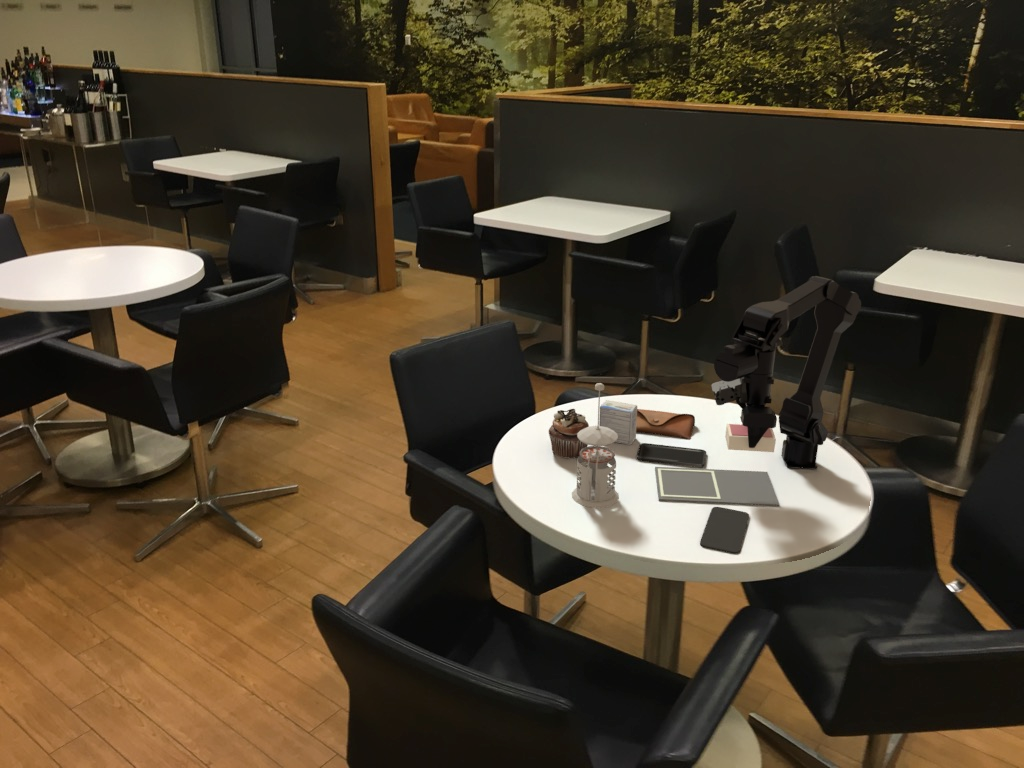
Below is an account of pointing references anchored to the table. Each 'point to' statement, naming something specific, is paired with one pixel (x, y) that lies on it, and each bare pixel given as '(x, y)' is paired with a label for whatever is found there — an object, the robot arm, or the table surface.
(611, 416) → the medicine box
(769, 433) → the card deck
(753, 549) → the table surface
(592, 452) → the french press
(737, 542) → the phone
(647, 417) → the sunglasses case
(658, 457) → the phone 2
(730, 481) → the mat
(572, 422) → the cupcake
